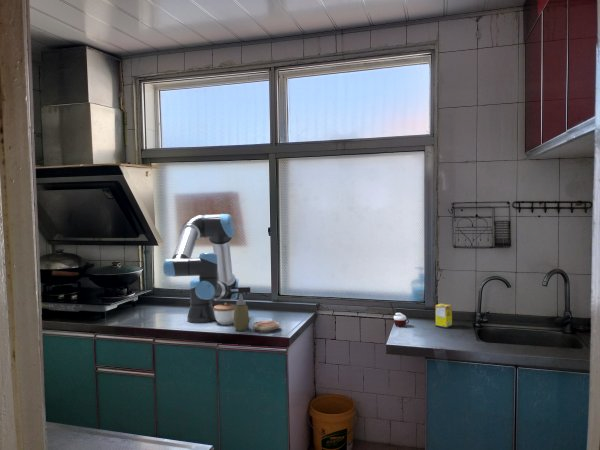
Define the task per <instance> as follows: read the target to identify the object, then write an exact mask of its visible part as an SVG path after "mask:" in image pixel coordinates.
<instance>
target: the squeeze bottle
mask: <svg viewBox="0 0 600 450" xmlns="http://www.w3.org/2000/svg"><path fill="white" fill-rule="evenodd" d="M235 304H236V306H235V308H234V321H233V323H232V324H233V326H234V329H235V330H236V331H237V332H239V331H240V332H241V331H243V332H244V331H247V330H248V329H249V325H250V315H249V306H248V305H247V304H246V300H244V298H243V293H239V296H238V300H236V303H235Z"/></svg>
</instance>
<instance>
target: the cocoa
mask: <svg viewBox="0 0 600 450" xmlns="http://www.w3.org/2000/svg"><path fill="white" fill-rule="evenodd" d="M389 304H390V307H391V311H392V312H393V323H394V325H395V326H396V327H397V326H398V328H403V327H406V326H407V325H408V324H409V322H410V319H408V318H407V316H406V315H405V314H403V313H401V312H395V310H394V306H393V305H392V304H393V303H392V302H389Z"/></svg>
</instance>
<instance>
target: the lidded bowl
mask: <svg viewBox="0 0 600 450" xmlns="http://www.w3.org/2000/svg"><path fill="white" fill-rule="evenodd" d="M235 306H236V303H227V302H226V301H224V303H221V304H220V303H219V304H216V305H214V306H213V310H214V316H215V320H216V322H217V323H218V324H219V325H222V326H224V325H225V326H226V325H232V324H234V323H233V321H234V308H235Z"/></svg>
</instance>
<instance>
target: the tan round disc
mask: <svg viewBox="0 0 600 450" xmlns="http://www.w3.org/2000/svg"><path fill="white" fill-rule="evenodd" d="M252 328H253V330H256V331H257V332H259V333H272V332H274V331H276V330H277V329H279V328H280V323H279V322H278V321H274V320H260V321H255V322H254V323H253V324H252Z"/></svg>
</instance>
